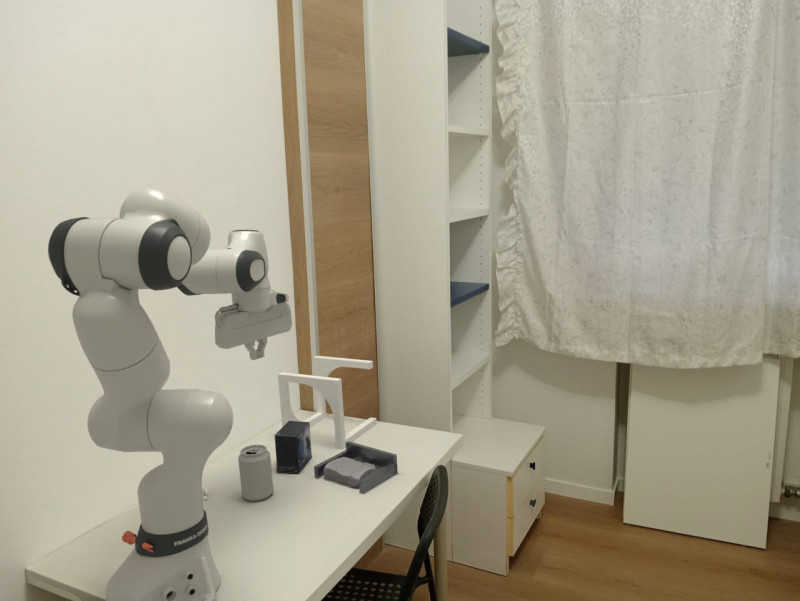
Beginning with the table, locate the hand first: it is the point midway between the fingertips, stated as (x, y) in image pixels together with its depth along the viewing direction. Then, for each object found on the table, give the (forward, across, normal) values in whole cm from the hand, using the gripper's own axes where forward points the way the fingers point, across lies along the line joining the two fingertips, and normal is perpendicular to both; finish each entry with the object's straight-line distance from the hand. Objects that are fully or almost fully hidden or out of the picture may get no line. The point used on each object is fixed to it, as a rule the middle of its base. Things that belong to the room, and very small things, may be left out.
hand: (257, 358), depth 158 cm
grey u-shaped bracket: (+34, +19, -11) cm, 41 cm away
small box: (+34, +15, +7) cm, 38 cm away
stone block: (+35, +18, -11) cm, 40 cm away
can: (+34, -2, +2) cm, 34 cm away
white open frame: (+34, +37, +15) cm, 53 cm away
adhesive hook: (+35, -9, +12) cm, 38 cm away
